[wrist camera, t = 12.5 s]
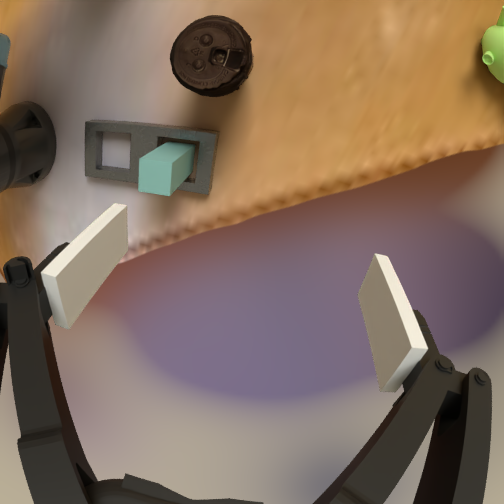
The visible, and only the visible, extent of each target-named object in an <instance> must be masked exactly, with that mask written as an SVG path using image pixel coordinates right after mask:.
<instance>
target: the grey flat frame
mask: <svg viewBox="0 0 504 504" xmlns="http://www.w3.org/2000/svg"><path fill="white" fill-rule="evenodd" d="M103 131H106V132H119V133H131V151H130V169H126V168H118V167H110V166H102V135H103ZM218 136H219V132H218V131H211V130H204V129H196V128H189V127H180V126H171V125H162V124H151V123H140V122H126V121H110V120H90V121H87V122H85V176H89V177H96V178H104V179H111V180H119V181H126V182H133V183H139V159H140V158H141V157H143V156H145V155H146V154H148V153H149V152H151V151H153V150H154V149H156V148H158V147H159V146H161V145H162V137H170V138H178V139H186V140H194V141H200V145H199V153H198V162H197V171H196V179H195V178H188V177H187V178H186V179H185V180H184V181H183V182H182V183H181V185H180V186H179V187H178V188H177V189H178V190H184V191H190V192H196V193H202V194H207V195H208V194H209V192H210V191H211V187H212V179H213V172H214V164H215V157H216V150H217V143H218Z"/></svg>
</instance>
